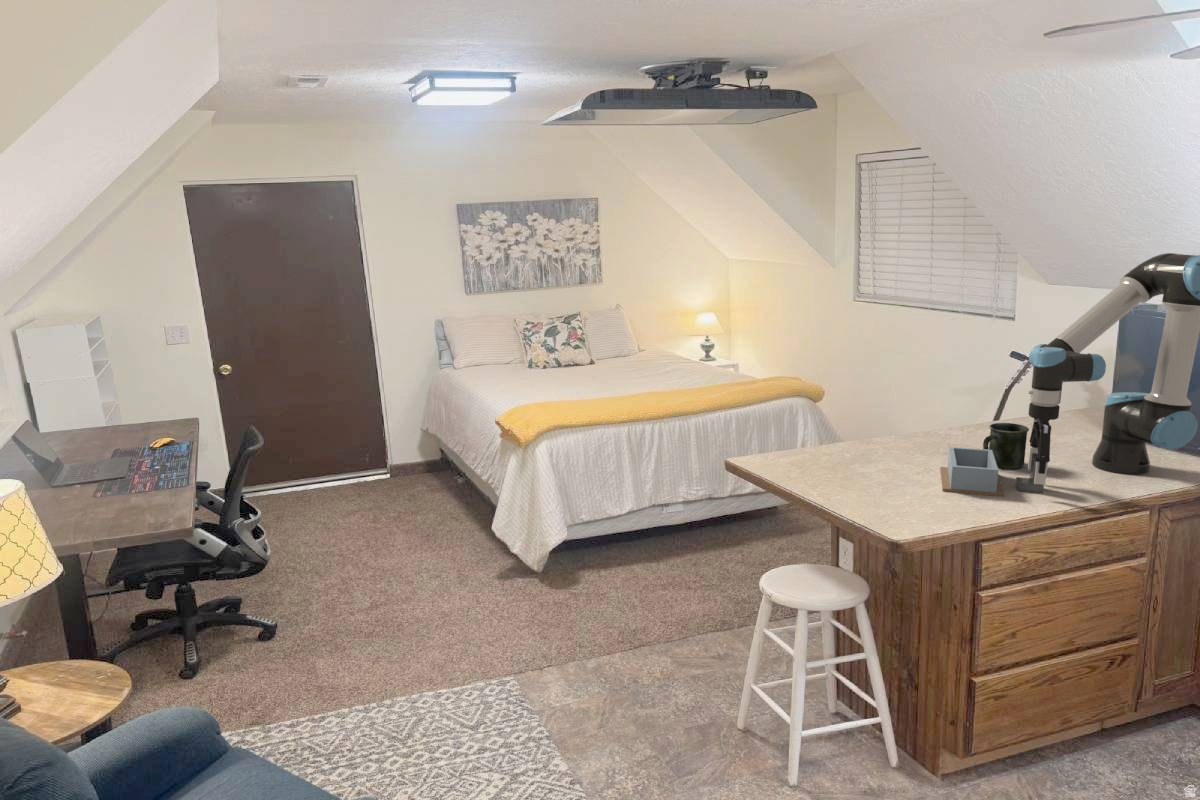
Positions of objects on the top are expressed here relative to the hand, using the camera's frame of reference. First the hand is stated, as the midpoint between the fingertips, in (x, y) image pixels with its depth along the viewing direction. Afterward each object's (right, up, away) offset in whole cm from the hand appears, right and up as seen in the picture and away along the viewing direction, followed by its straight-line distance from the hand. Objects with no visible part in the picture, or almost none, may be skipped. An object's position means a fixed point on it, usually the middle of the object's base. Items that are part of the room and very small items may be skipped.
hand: (1036, 476), depth 252 cm
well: (-15, -2, +8) cm, 17 cm away
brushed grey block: (-1, -4, +1) cm, 4 cm away
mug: (+1, +1, +23) cm, 24 cm away
